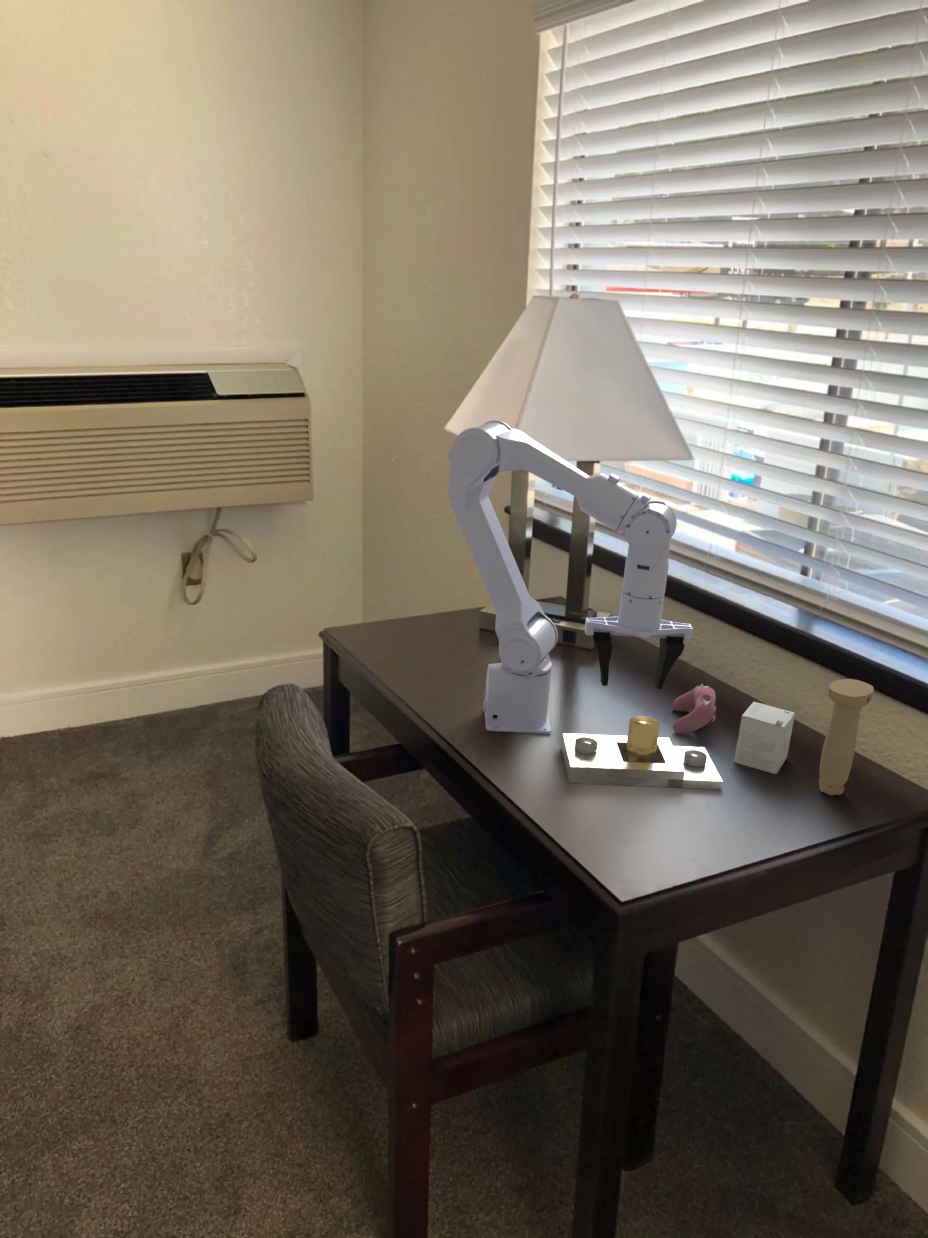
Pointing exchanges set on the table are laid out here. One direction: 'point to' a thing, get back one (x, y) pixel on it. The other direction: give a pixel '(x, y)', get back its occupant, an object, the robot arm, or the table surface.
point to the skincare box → (764, 737)
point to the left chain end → (614, 759)
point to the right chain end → (694, 764)
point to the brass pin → (642, 739)
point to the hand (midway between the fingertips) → (631, 684)
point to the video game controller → (695, 709)
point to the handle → (842, 733)
